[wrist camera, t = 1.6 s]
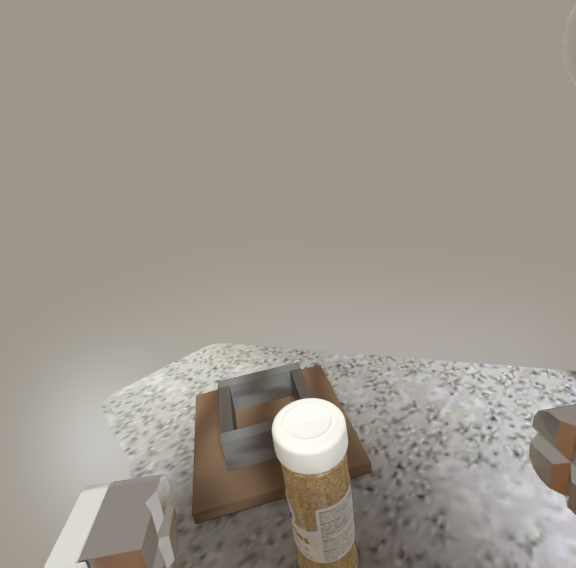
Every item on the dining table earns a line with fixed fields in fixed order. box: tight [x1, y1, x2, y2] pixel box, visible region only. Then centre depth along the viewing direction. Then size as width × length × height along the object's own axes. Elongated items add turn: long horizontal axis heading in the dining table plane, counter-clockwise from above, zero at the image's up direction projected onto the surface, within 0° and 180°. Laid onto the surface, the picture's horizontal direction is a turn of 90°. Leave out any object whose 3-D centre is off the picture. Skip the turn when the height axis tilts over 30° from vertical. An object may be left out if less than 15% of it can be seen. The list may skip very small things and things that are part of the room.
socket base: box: [192, 362, 371, 524], centre depth 39 cm, size 16×16×5 cm
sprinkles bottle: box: [272, 398, 358, 568], centre depth 25 cm, size 5×5×13 cm
